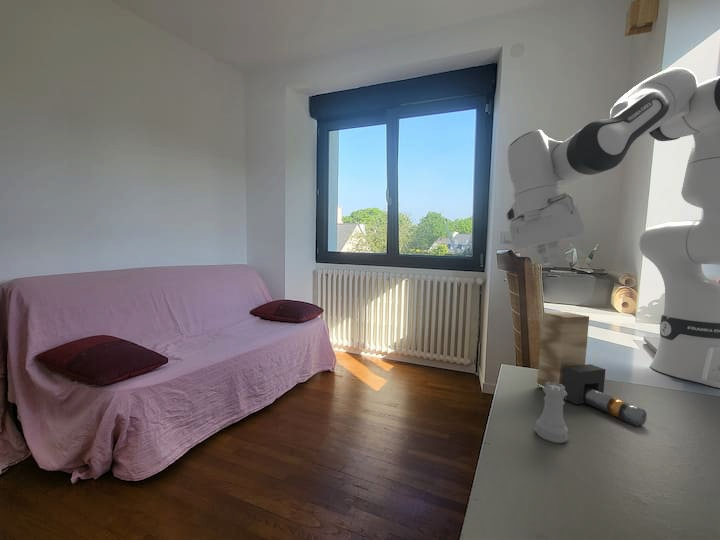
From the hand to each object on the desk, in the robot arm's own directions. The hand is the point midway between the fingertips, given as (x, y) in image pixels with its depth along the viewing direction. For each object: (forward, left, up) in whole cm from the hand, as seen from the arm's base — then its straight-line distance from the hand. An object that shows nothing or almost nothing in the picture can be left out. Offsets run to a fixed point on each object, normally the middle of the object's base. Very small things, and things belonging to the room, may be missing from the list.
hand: (549, 264), depth 75 cm
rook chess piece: (+7, +27, -26) cm, 38 cm away
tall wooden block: (-2, +6, -26) cm, 27 cm away
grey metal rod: (-5, +13, -26) cm, 30 cm away
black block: (-4, +11, -26) cm, 28 cm away
